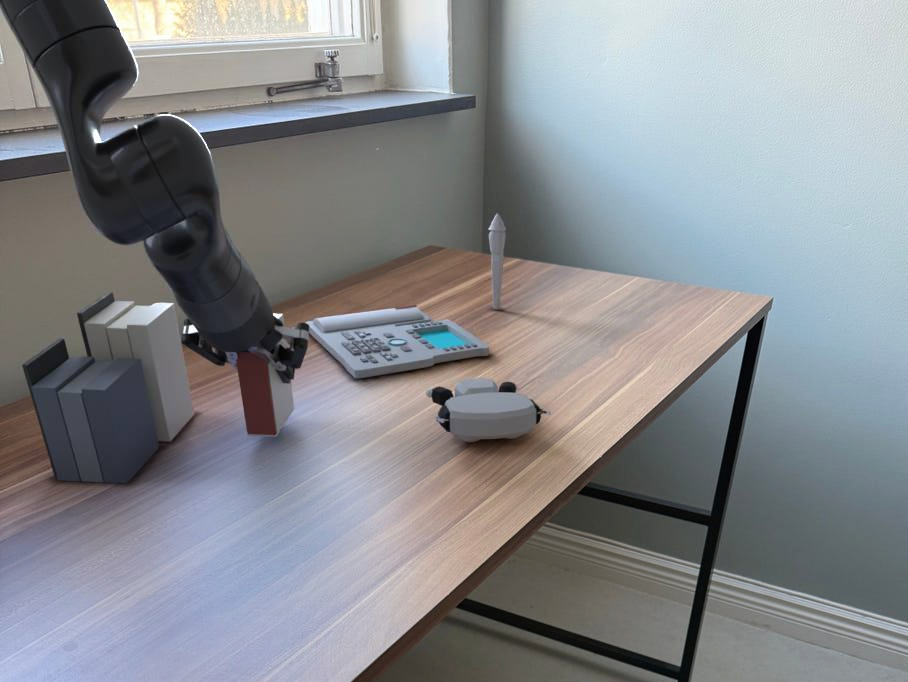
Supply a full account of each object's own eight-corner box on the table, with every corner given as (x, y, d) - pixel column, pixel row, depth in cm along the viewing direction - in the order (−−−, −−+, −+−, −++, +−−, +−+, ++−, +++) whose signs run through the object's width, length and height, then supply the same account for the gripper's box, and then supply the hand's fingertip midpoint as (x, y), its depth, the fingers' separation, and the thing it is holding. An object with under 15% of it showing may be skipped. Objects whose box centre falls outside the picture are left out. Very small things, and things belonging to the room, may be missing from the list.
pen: (501, 312, 143) (503, 215, 134) (485, 310, 143) (486, 214, 135) (506, 308, 145) (508, 212, 136) (490, 306, 145) (491, 210, 137)
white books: (107, 439, 103) (76, 313, 95) (135, 411, 110) (108, 291, 101) (170, 442, 103) (144, 315, 95) (194, 414, 109) (172, 293, 101)
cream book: (247, 435, 101) (232, 336, 95) (267, 408, 108) (254, 312, 101) (276, 437, 101) (262, 337, 95) (294, 409, 108) (283, 313, 101)
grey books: (52, 480, 95) (19, 366, 88) (89, 444, 102) (61, 336, 95) (127, 483, 94) (99, 369, 87) (159, 447, 102) (136, 339, 95)
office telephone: (302, 312, 134) (428, 296, 141) (304, 330, 136) (428, 313, 142) (354, 360, 117) (494, 339, 124) (355, 380, 118) (494, 358, 125)
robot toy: (421, 413, 112) (443, 456, 100) (419, 376, 110) (442, 415, 97) (518, 406, 114) (551, 447, 102) (519, 369, 112) (553, 407, 99)
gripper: (296, 259, 87) (335, 346, 104) (152, 255, 87) (214, 341, 104) (288, 333, 85) (329, 409, 102) (142, 328, 86) (206, 404, 103)
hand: (271, 374), depth 103 cm, fingers closed on cream book, 3 cm apart
